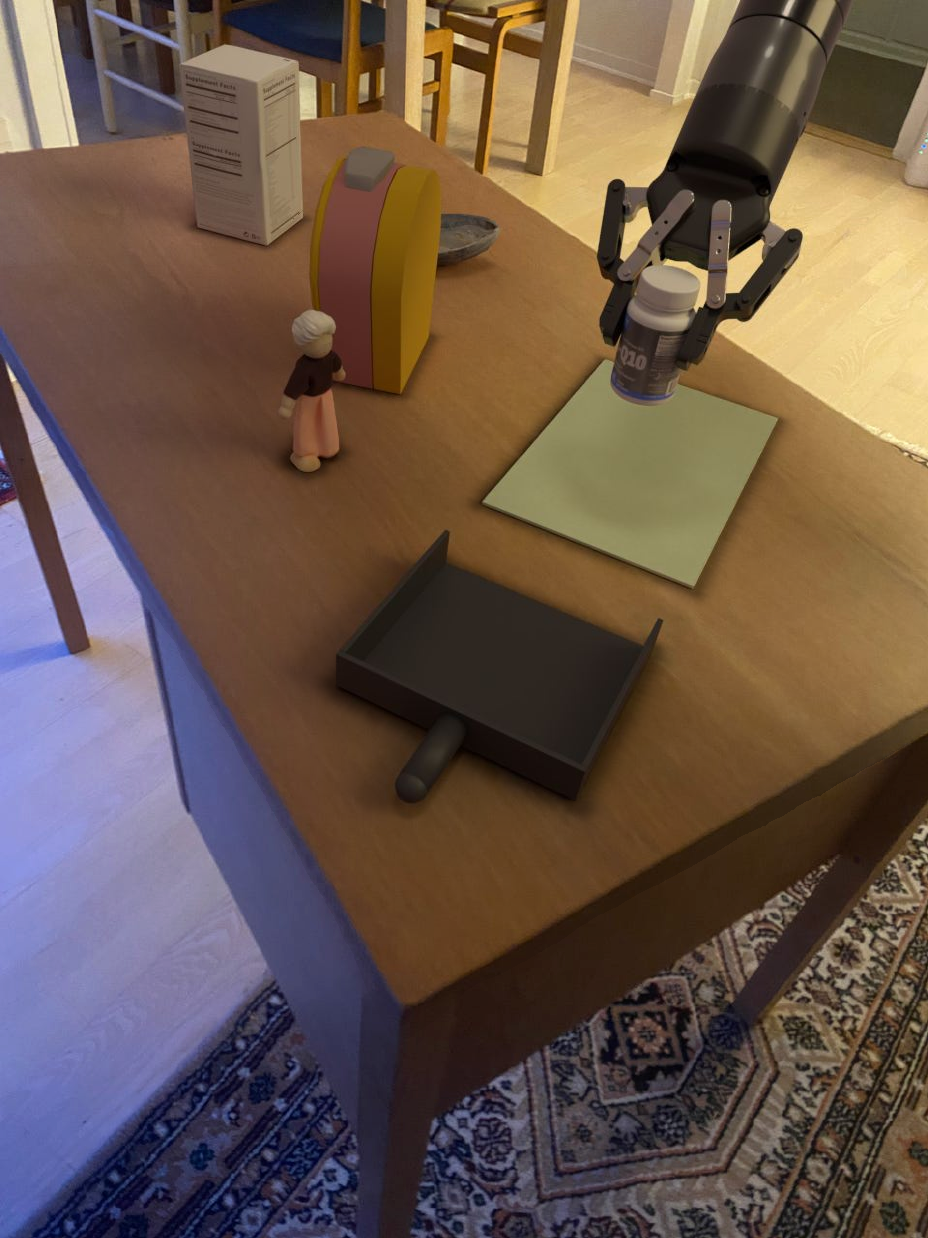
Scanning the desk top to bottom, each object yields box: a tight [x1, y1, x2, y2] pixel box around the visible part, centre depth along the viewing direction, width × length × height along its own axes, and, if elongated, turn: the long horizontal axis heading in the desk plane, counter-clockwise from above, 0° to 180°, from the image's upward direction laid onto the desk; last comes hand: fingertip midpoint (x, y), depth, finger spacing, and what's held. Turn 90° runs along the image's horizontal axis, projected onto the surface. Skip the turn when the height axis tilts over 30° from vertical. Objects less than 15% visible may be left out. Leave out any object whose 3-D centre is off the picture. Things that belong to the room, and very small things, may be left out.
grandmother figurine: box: [277, 309, 346, 473], centre depth 71 cm, size 8×4×13 cm, turn 160°
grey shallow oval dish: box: [437, 213, 502, 266], centre depth 102 cm, size 15×12×5 cm
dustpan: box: [335, 529, 665, 805], centre depth 57 cm, size 20×17×3 cm
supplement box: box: [178, 44, 304, 247], centre depth 99 cm, size 10×9×17 cm
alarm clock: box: [308, 146, 443, 395], centre depth 81 cm, size 15×8×18 cm, turn 168°
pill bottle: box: [610, 264, 701, 406], centre depth 62 cm, size 5×5×8 cm
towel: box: [481, 358, 779, 590], centre depth 79 cm, size 28×18×1 cm, turn 153°
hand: (645, 352), depth 61 cm, fingers closed on pill bottle, 4 cm apart
